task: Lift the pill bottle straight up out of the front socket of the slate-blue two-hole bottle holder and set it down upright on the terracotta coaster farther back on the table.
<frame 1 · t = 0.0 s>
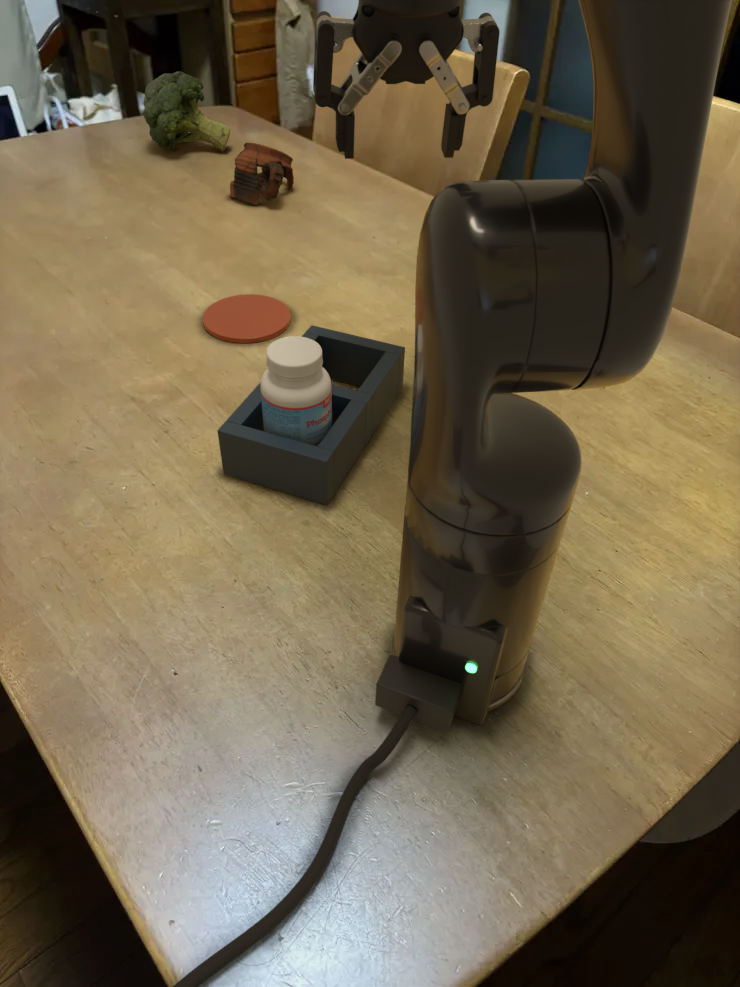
hand: (398, 154, 64), 22 cm above the table, tool pointing down, fingers open, 8 cm apart
pottery mug: (265, 197, 113), on the table
bottle holder: (319, 428, 72), on the table
coaster: (247, 320, 87), on the table
vegetable: (190, 148, 127), on the table
pill bottle: (299, 456, 69), resting in bottle holder
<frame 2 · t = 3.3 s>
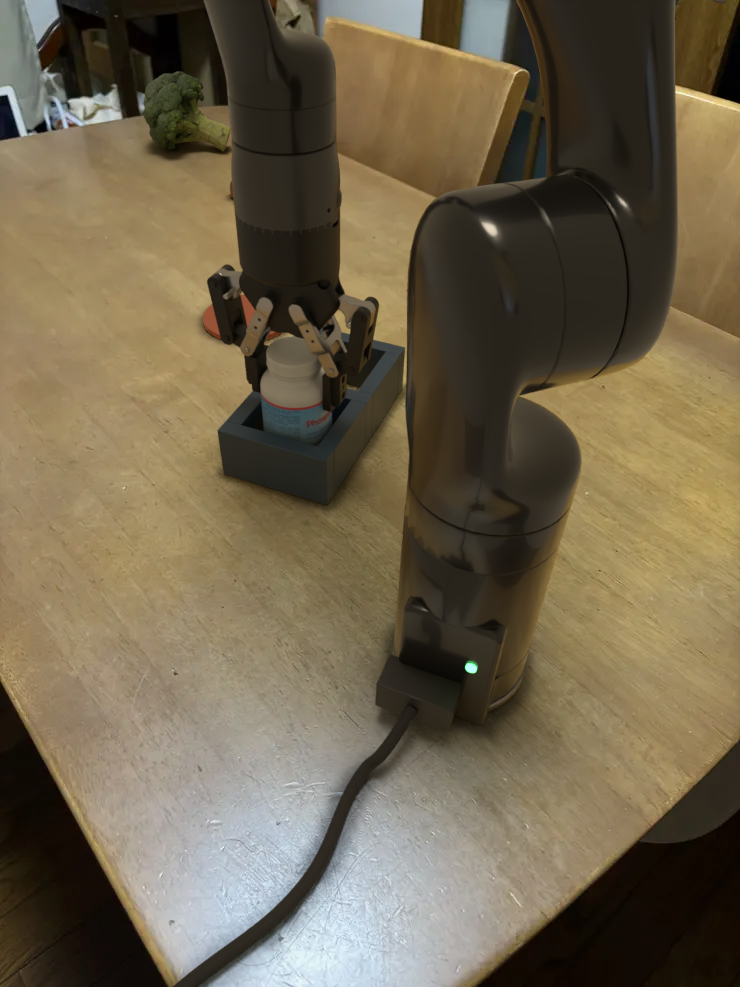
hand: (296, 396, 65), 7 cm above the table, tool pointing down, fingers closed on pill bottle, 6 cm apart
pill bottle: (299, 456, 69), resting in bottle holder, touching gripper
everything else where it was.
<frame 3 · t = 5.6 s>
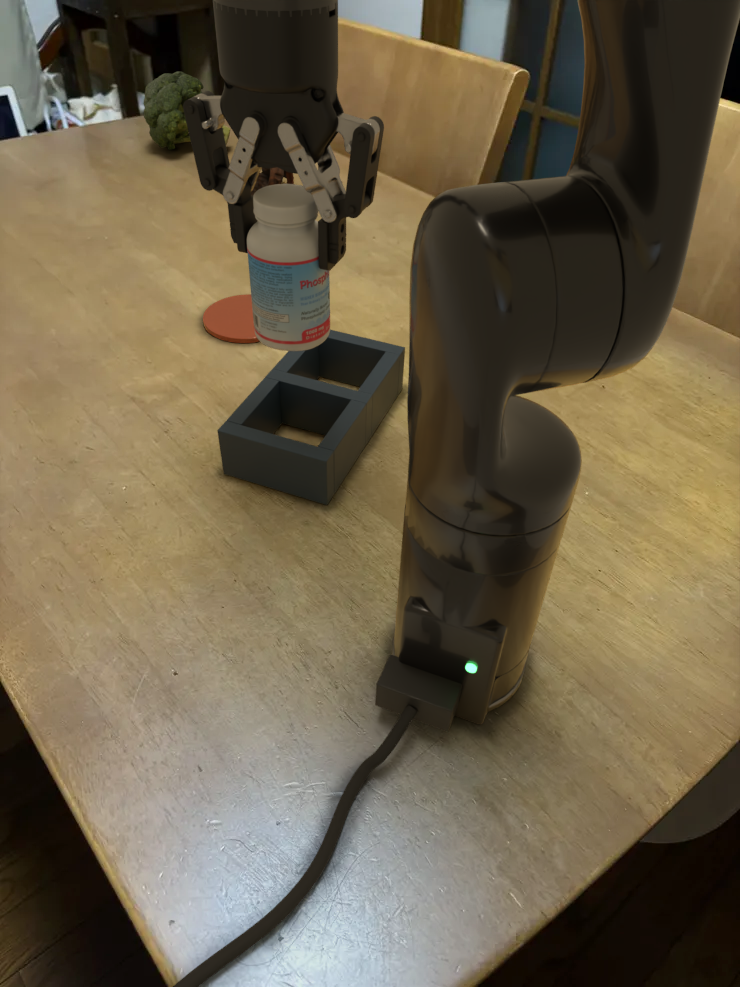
hand: (288, 256, 56), 19 cm above the table, tool pointing down, fingers closed on pill bottle, 6 cm apart
pill bottle: (293, 336, 61), point 12 cm above the table, touching gripper
everything else where it was.
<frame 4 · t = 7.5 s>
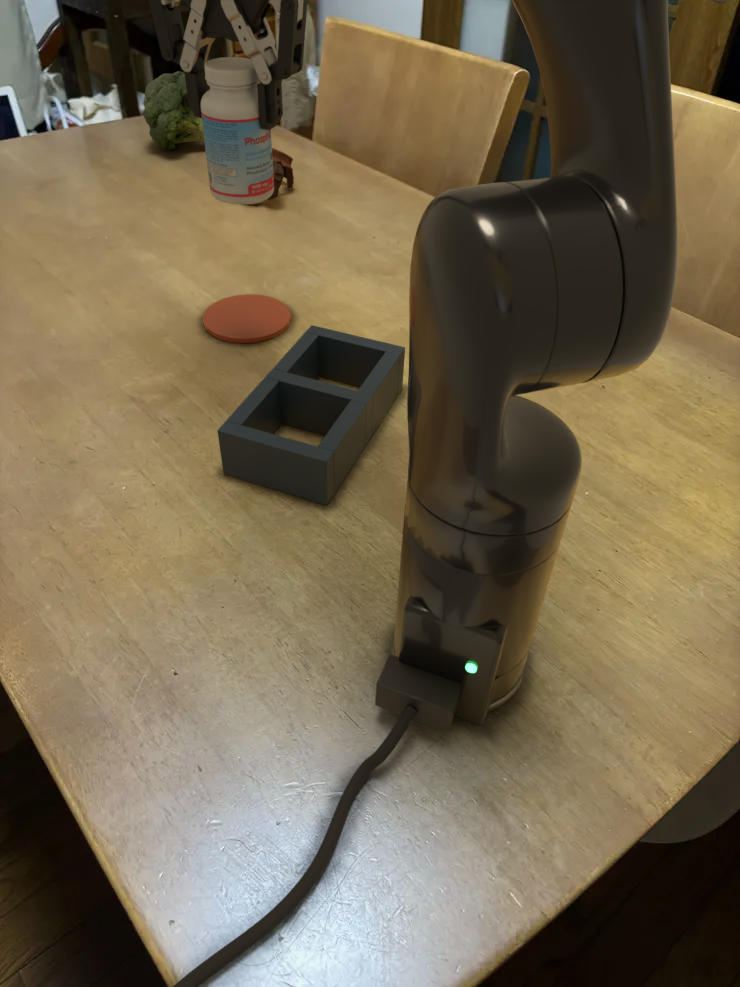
hand: (236, 120, 68), 23 cm above the table, tool pointing down, fingers closed on pill bottle, 6 cm apart
pill bottle: (243, 196, 72), point 16 cm above the table, touching gripper
everything else where it was.
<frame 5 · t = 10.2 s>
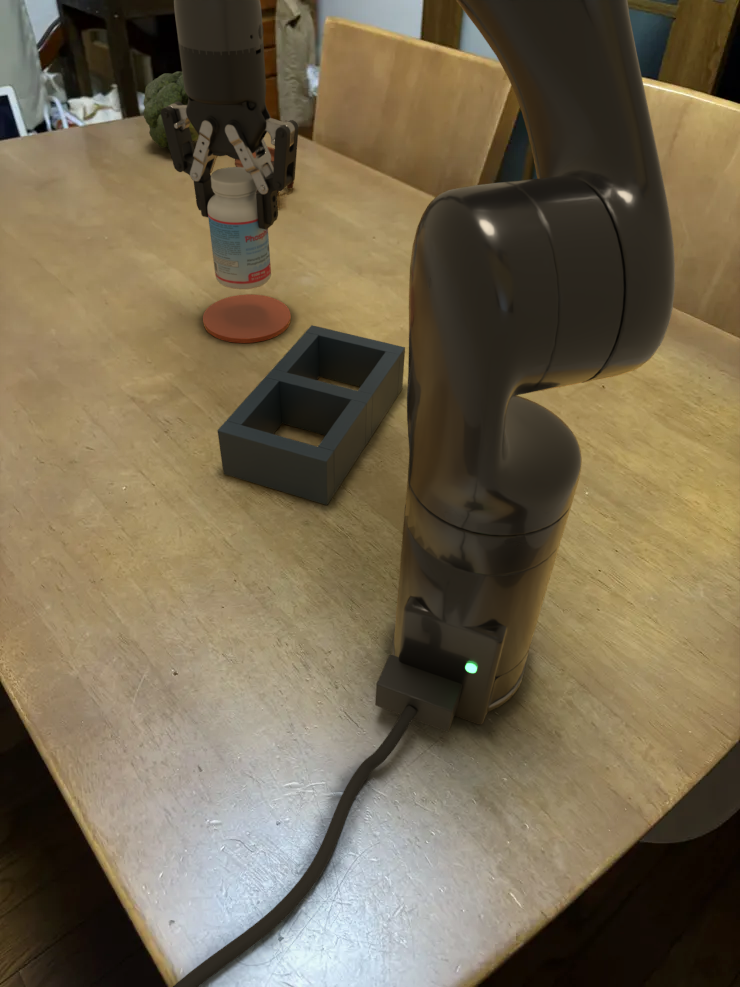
hand: (238, 219, 79), 12 cm above the table, tool pointing down, fingers closed on pill bottle, 6 cm apart
pill bottle: (244, 280, 83), point 5 cm above the table, touching gripper
everything else where it was.
when the fingers open (7 cm above the table, at t = 11.9 s): pill bottle stays where it is, resting on coaster.
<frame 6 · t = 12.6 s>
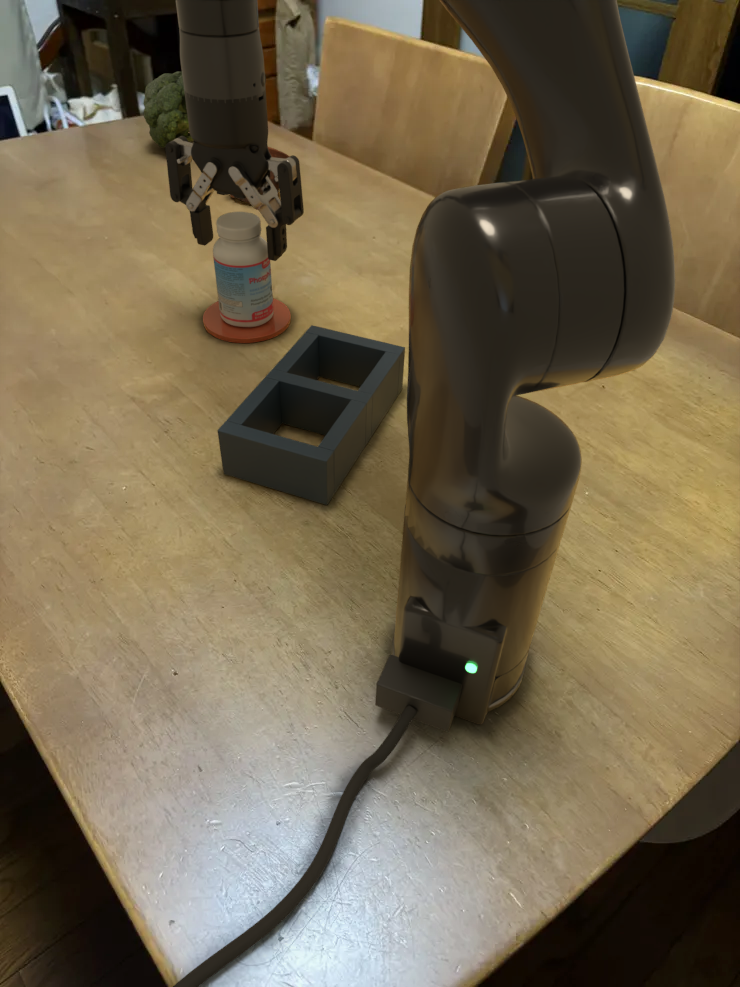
hand: (240, 250, 81), 9 cm above the table, tool pointing down, fingers open, 8 cm apart
pill bottle: (247, 317, 86), resting on coaster
everything else where it was.
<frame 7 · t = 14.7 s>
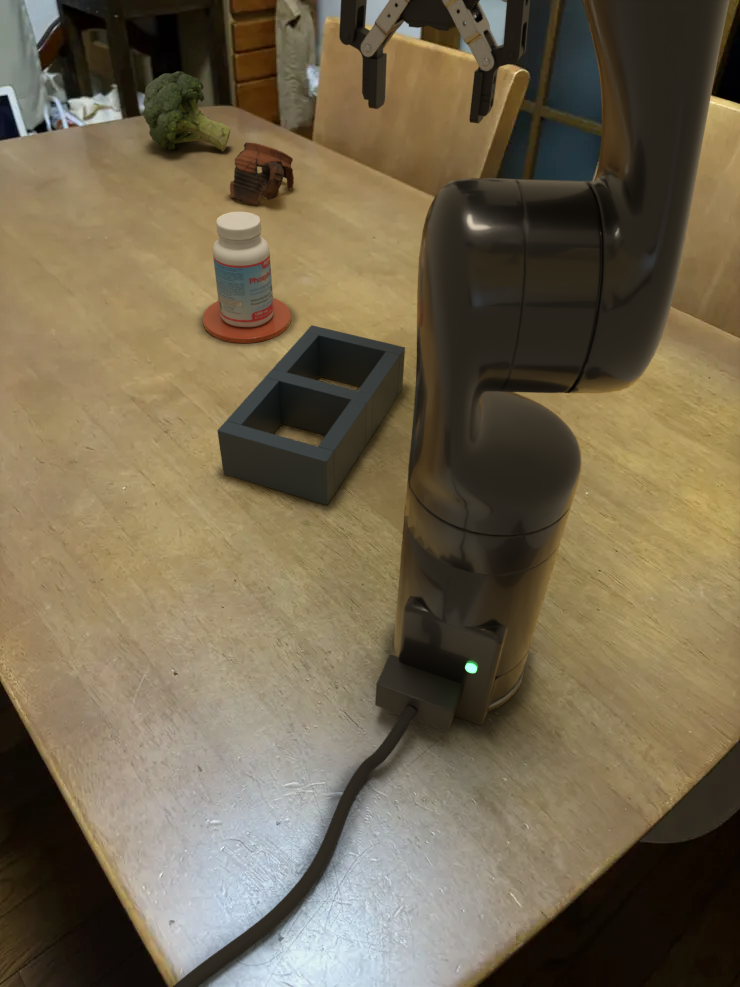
hand: (426, 113, 61), 26 cm above the table, tool pointing down, fingers open, 8 cm apart
nothing on the table moved.
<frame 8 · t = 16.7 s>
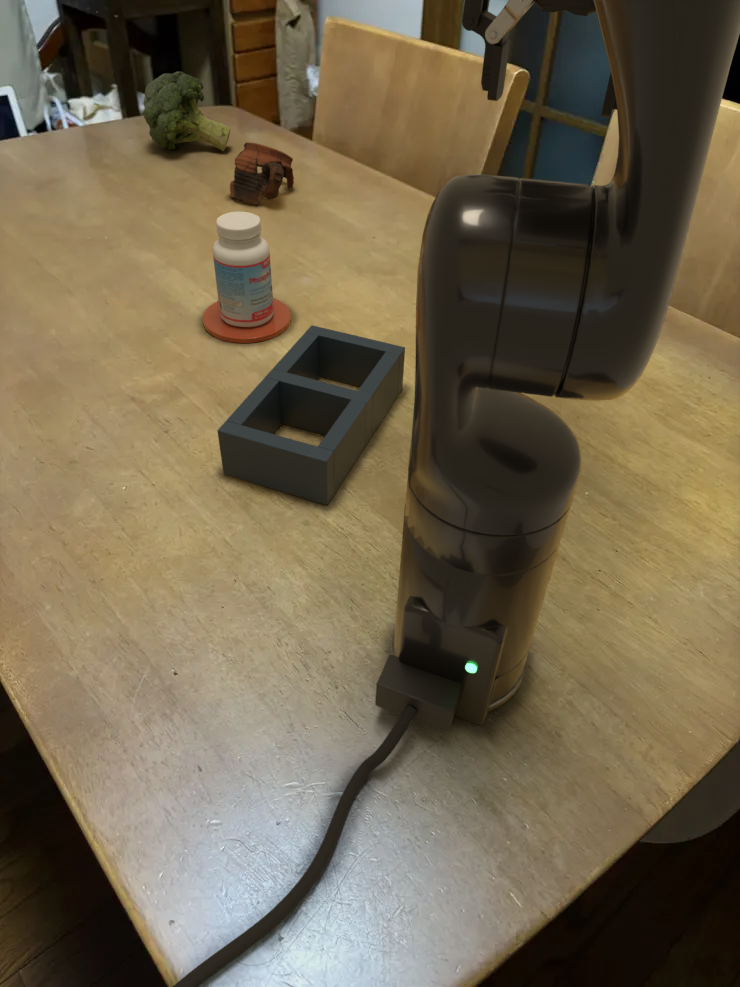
hand: (550, 106, 56), 28 cm above the table, tool pointing down, fingers open, 8 cm apart
nothing on the table moved.
at the end: pill bottle inside the target area on the coaster (0.1 cm from its centre), point 0.4 cm above the coaster's base; pill bottle tilted 0°; pill bottle touching coaster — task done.
